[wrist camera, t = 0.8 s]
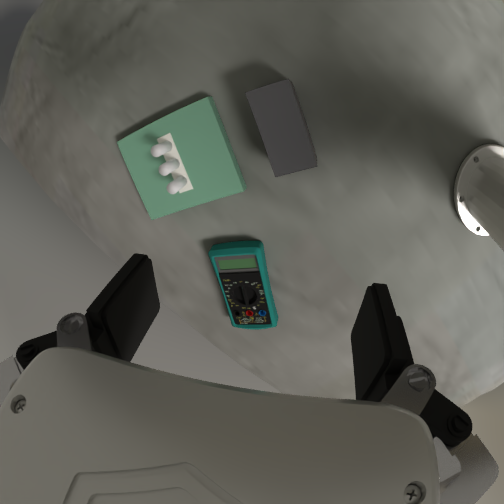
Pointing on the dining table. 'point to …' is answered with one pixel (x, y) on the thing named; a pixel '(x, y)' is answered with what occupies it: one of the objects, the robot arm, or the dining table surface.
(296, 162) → the block
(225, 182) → the board
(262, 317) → the digital multimeter
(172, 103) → the dining table surface
